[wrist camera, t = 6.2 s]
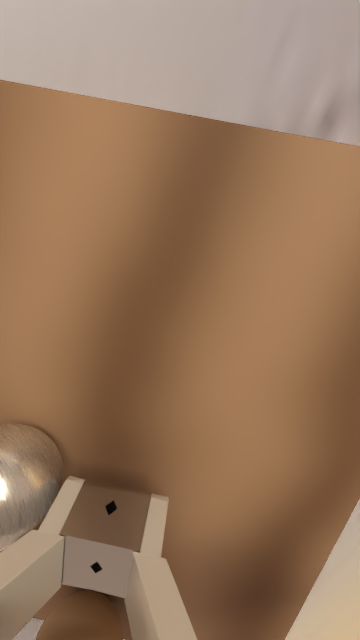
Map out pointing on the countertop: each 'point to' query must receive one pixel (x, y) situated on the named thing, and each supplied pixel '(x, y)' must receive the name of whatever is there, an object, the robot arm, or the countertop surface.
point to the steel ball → (26, 480)
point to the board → (188, 335)
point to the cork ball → (82, 619)
